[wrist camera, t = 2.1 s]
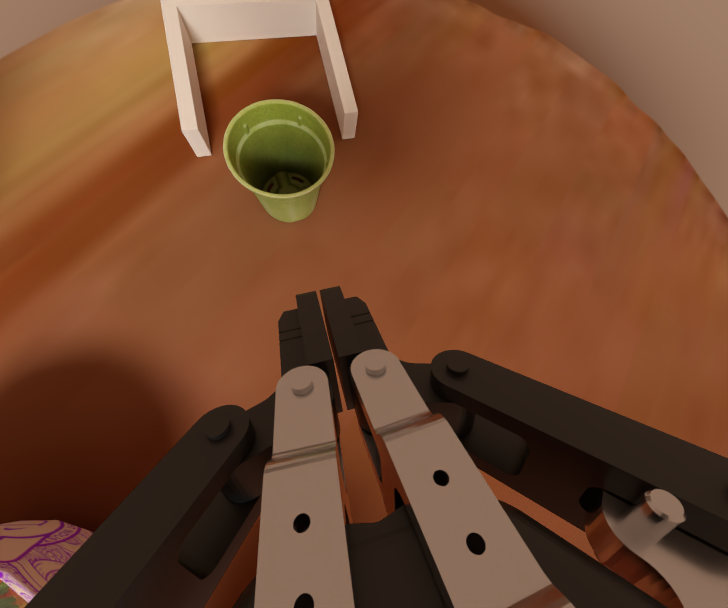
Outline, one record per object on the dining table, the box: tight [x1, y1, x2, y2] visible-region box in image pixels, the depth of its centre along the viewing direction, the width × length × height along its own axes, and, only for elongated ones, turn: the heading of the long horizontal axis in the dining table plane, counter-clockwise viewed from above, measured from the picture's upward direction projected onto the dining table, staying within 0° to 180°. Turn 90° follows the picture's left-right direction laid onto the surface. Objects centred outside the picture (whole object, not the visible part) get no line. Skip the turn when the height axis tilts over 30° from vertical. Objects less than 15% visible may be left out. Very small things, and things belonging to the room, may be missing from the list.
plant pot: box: [223, 99, 335, 222], centre depth 31 cm, size 9×9×9 cm
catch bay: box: [160, 0, 358, 157], centre depth 36 cm, size 18×16×4 cm
